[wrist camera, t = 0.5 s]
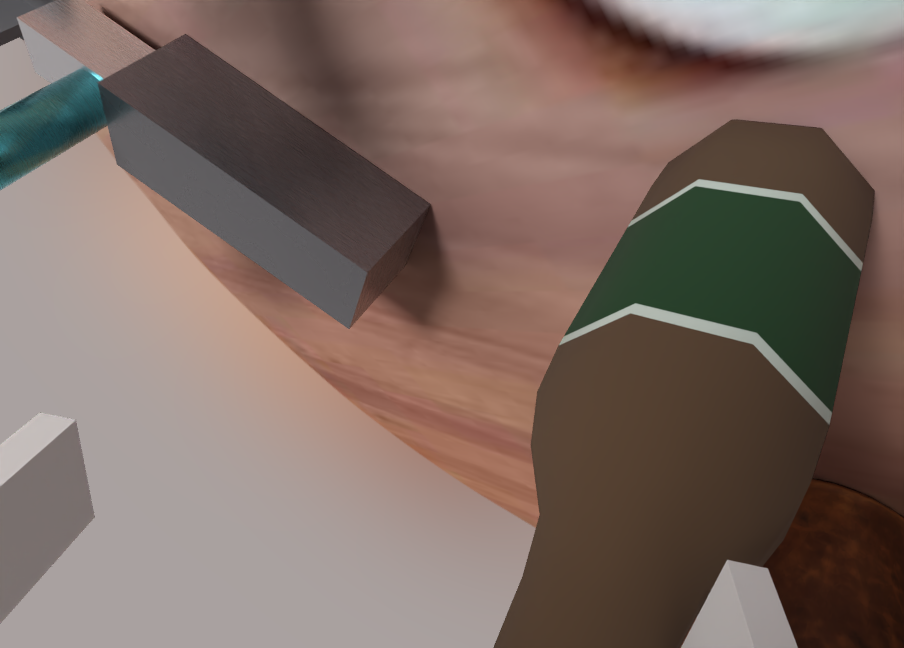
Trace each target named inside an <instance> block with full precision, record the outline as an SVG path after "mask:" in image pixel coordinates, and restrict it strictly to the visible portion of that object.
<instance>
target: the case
mask: <svg viewBox="0 0 904 648" xmlns="http://www.w3.org/2000/svg"><path fill="white" fill-rule="evenodd" d="M763 568H768V570H769V573H770V576H771V578H772V581H773V583H774V586H775V589H776V591H777V594H778V597H779V599H780V602H781V605H782V607H783V610H784V612H785V615H786V618H787V620H788V623H789V626H790V628H791V631H792V634H793V636H794V639H795V641H796V644H797V647H798V648H904V518H903V517H902V516H900V515H899V514H898V513H896V512H895V511H893V510H891V509H890V508H888V507H887V506H885V505H883V504H881V503H880V502H878V501H876V500H874V499H872V498H870V497H868V496H866V495H863V494H861V493H859V492H856V491H854V490H851V489H849V488H846V487H843V486H840V485H837V484H833V483H830V482H825V481H821V480H816V479H812V480H811V483H810V485H809V488H808V490H807V492H806V494H805V496H804V498H803V500H802V502H801V504H800V507H799V509H798V511H797V513H796V515H795V517H794V519H793V521H792V523H791V526H790V528H789V530H788V532H787V534H786V536H785V538H784V540H783V541H782V543H781V544H780V545H779V546H778V548H777V549H776V550H775V551H774V553H773V554H772V555H771V556H770V558H769V559H768V560H767V561H766V563H765V564H764V565H763ZM697 616H698V614H697ZM697 616H696V618H697ZM696 618H695V620H696ZM695 620H694V622H695ZM694 622H693V624H694ZM693 624H692V625H691V627H690V629H689V631H690V630H691V628H692V626H693ZM689 631H688V633H689ZM688 633H687V635H688ZM687 635H686V637H687ZM686 637H685V639H686ZM685 639H684V640H683V642H682V644H681V646H680V648H681V647H682V645H683V643H684V641H685Z"/></svg>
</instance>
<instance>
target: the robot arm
mask: <svg viewBox="0 0 904 648" xmlns="http://www.w3.org/2000/svg"><path fill="white" fill-rule="evenodd" d="M94 517H95V516H94V511H93V506H92V501H91V495H90V490H89V485H88V480H87V475H86V470H85V465H84V459H83V454H82V449H81V444H80V438H79V433H78V428H77V423H76V420H73V419H69V418H64V417H60V416H55V415H50V414H46V413H41V412H40V413H39V414H38V415H37V416H35V417H34V418H33V419H32V420H31V421H29V422H28V423H27V424H25V425H24V426H23V427H22V428H20V429H19V430H18V431H17V432H15V433H14V434H13V435H12V436H10V437H9V438H8V439H7V440H5V441H4V442H3V443H2V444H1V445H0V623H1V622H2V621H3V620H4V619H5V618H6V617H7V615H8V614H9V613H10V612H11V611H12V610H13V609H14V608H15V606H16V605H17V604H18V603H19V602H20V601H21V600H22V599H23V597H24V596H25V595H26V594H27V593H28V592H29V591H30V589H31V588H32V587H33V586H34V585H35V584H36V583H37V582H38V580H39V579H40V578H41V577H42V576H43V575H44V574H45V573H46V571H47V570H48V569H49V568H50V567H51V566H52V565H53V564H54V562H55V561H56V560H57V559H58V558H59V557H60V556H61V555H62V553H63V552H64V551H65V550H66V549H67V548H68V547H69V545H70V544H71V543H72V542H73V541H74V540H75V539H76V538H77V536H78V535H79V534H80V533H81V532H82V531H83V530H84V529H85V528H86V526H87V525H88V524H89V523H90V522H91V521H92V519H93V518H94ZM681 648H798V647H797V644H796V641H795V639H794V636H793V634H792V631H791V628H790V626H789V623H788V620H787V618H786V615H785V612H784V610H783V607H782V605H781V602H780V599H779V597H778V594H777V591H776V589H775V586H774V583H773V581H772V578H771V576H770V573H769V570H768V568H763V567H759V566H754V565H749V564H745V563H740V562H735V561H731V560H727V561H726V563H725V565H724V567H723V569H722V571H721V572H720V574H719V576H718V578H717V580H716V582H715V584H714V586H713V588H712V590H711V591H710V593H709V595H708V597H707V599H706V601H705V603H704V605H703V607H702V609H701V611H700V612H699V614H698V616H697V618H696V620H695V622H694V624H693V626H692V628H691V630H690V631H689V633H688V635H687V637H686V639H685V641H684V643H683V645H682V647H681Z"/></svg>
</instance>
